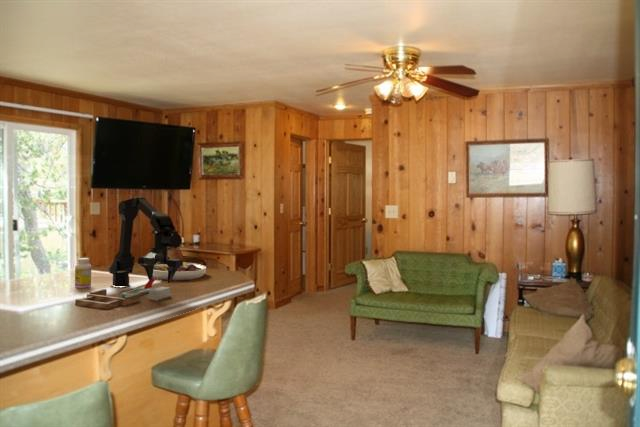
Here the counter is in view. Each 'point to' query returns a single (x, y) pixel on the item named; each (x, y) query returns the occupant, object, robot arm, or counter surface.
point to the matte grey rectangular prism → (159, 293)
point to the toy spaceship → (141, 289)
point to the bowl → (180, 271)
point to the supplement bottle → (83, 273)
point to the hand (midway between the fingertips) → (159, 281)
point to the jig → (105, 300)
